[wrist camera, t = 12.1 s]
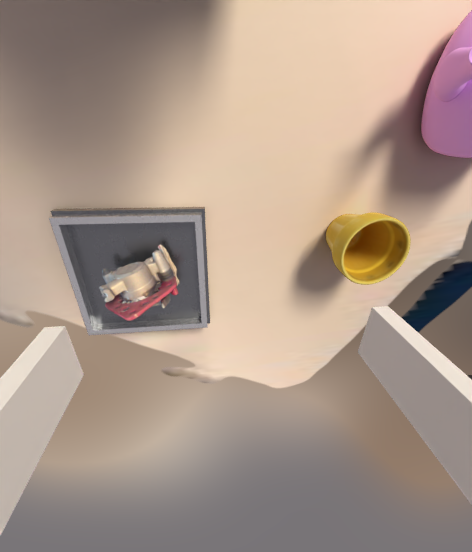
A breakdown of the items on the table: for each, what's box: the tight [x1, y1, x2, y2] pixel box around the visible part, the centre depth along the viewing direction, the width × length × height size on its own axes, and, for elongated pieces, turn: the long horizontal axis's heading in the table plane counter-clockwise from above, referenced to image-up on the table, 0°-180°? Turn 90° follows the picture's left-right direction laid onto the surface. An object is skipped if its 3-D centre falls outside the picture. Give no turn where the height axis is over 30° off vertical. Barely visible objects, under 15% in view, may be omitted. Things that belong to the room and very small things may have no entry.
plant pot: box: [326, 213, 410, 285], centre depth 40 cm, size 10×10×10 cm
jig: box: [49, 207, 210, 335], centre depth 42 cm, size 22×22×3 cm
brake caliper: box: [99, 245, 179, 321], centre depth 39 cm, size 11×11×12 cm
